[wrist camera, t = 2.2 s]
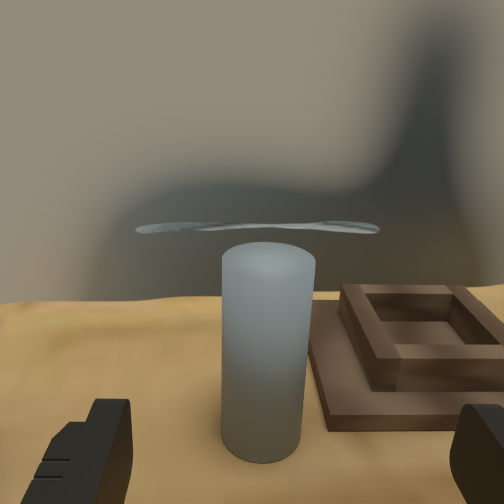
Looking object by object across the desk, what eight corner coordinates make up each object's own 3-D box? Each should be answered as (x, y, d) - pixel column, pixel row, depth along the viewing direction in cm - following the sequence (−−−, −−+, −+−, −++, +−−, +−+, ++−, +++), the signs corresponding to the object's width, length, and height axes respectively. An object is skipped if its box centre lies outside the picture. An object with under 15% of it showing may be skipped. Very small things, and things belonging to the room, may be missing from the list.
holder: (477, 313, 41) (486, 275, 39) (590, 429, 28) (610, 379, 27) (297, 311, 40) (300, 273, 39) (328, 431, 27) (334, 379, 26)
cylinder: (294, 404, 29) (308, 242, 25) (305, 462, 25) (323, 279, 21) (222, 404, 29) (223, 241, 25) (220, 463, 25) (221, 278, 21)
